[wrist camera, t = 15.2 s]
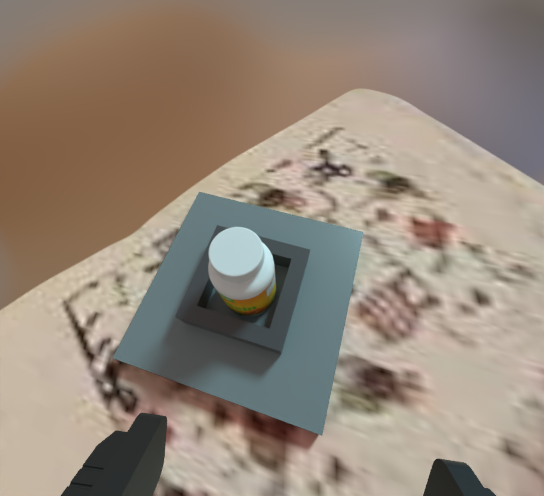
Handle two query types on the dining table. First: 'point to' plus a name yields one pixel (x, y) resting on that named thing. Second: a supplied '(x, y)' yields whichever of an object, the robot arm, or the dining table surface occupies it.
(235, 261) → the supplement bottle
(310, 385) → the socket board
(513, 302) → the dining table surface
